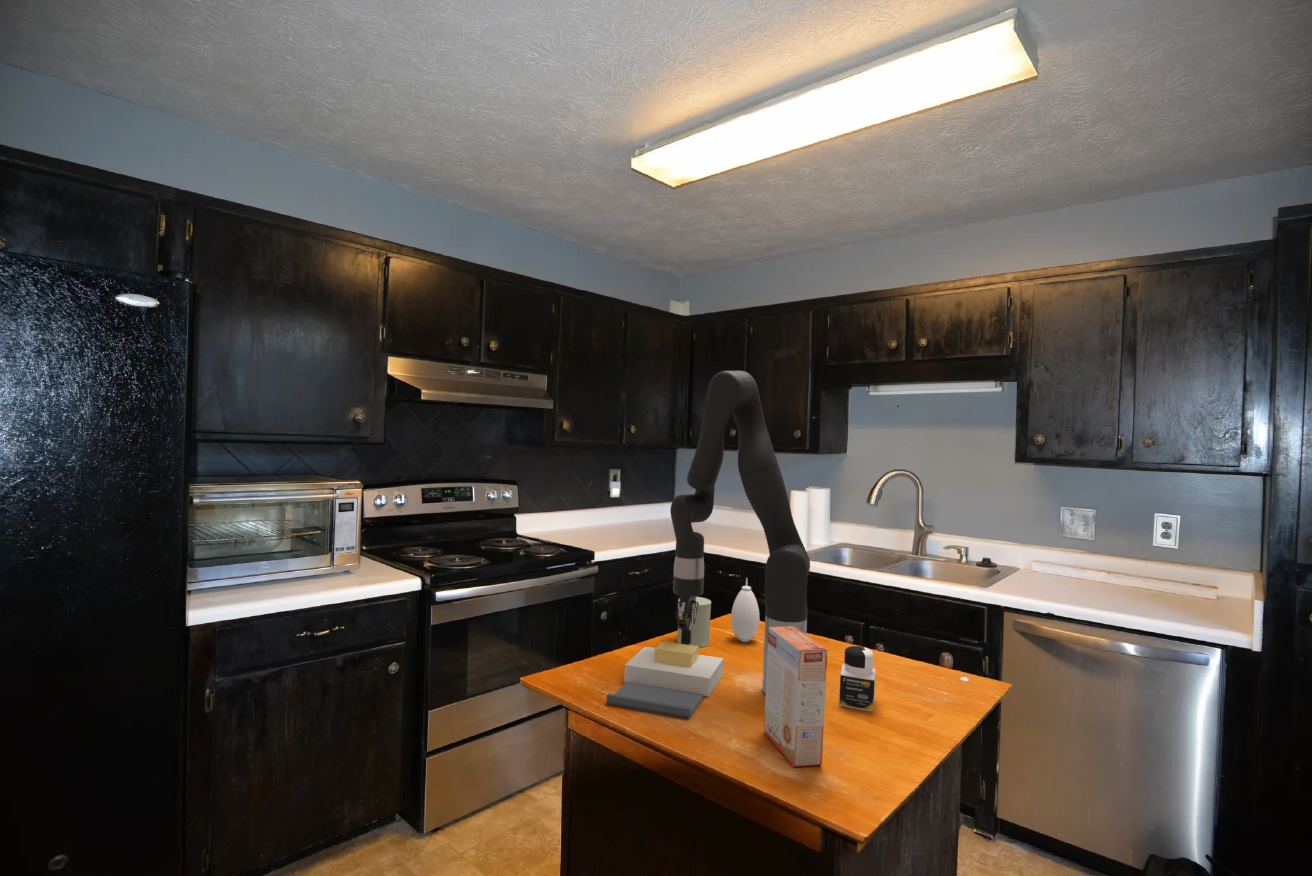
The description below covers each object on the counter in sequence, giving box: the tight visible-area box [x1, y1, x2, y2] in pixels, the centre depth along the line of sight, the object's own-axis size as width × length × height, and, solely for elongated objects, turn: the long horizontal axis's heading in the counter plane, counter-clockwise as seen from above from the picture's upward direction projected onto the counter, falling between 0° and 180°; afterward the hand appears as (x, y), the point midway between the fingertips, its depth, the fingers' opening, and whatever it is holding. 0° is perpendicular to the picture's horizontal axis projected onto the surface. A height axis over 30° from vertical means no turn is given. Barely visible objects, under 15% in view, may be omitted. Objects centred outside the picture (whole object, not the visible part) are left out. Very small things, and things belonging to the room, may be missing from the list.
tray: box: [606, 682, 705, 721], centre depth 140 cm, size 18×12×2 cm, turn 72°
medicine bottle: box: [838, 645, 877, 712], centre depth 143 cm, size 7×7×12 cm
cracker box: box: [763, 626, 828, 768], centre depth 121 cm, size 14×6×21 cm, turn 12°
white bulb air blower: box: [730, 577, 760, 643], centre depth 183 cm, size 8×8×18 cm
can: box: [676, 596, 712, 648], centre depth 181 cm, size 9×9×12 cm
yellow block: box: [654, 640, 700, 667], centre depth 154 cm, size 9×6×3 cm, turn 72°
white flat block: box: [623, 646, 724, 697], centre depth 153 cm, size 20×14×4 cm
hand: (686, 644), depth 161 cm, fingers closed
